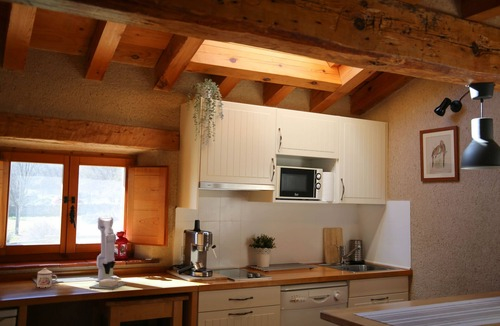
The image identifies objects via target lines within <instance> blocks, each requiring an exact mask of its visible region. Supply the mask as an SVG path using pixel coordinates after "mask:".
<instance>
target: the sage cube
mask: <svg viewBox="0 0 500 326" xmlns="http://www.w3.org/2000/svg"><path fill="white" fill-rule="evenodd" d="M113 275H114V267H113V268H110V272H109V274H105V269H103V277H111V278H112V277H113Z"/></svg>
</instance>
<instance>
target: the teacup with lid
mask: <svg viewBox="0 0 500 326" xmlns="http://www.w3.org/2000/svg"><path fill="white" fill-rule="evenodd" d="M36 274H37V276H36V277H37V280H36V287H37V288H39V287H40V288H41V289H45V287H46V288H51V287H52V283H55V282H56V281H57V280H58V276H57V275H56V274H53V271H51V270H49V269H47V267H43V269H41V270H40V271H37V273H36ZM53 277H55V280H53V281H52V279H53Z"/></svg>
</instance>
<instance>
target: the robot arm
mask: <svg viewBox="0 0 500 326" xmlns="http://www.w3.org/2000/svg"><path fill="white" fill-rule="evenodd" d="M113 224H114V218H113V217H112V216H110V217H108V216H106V217H105V216H104V217H103V216H99V217H97V229H98V230H99V231H100V235H101V236H100V253H99V255H97V257H96V267H97V269H98V275H97V276H98V277H97V279H96V280H95V282H99V281H101V280H104V279H112V276H111V277H103V269H105V274H109V272H110V268H113V269H114V267H115V265H116V262H117V261H115V259H116V257H115V247H116V246H115V245H116V241H117V235H116V233H114V229H113Z"/></svg>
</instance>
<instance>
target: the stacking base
mask: <svg viewBox="0 0 500 326" xmlns="http://www.w3.org/2000/svg"><path fill="white" fill-rule="evenodd" d="M126 285H127V283H126V282H119V279H114V278H111V279H104V280H101V281H98V283H97V284H93V285H91V286H89V289H93V290H96V289H97V290H108V291H109V290H110V291H113V290H116V289H118V288H121V287H124V286H126Z"/></svg>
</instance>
